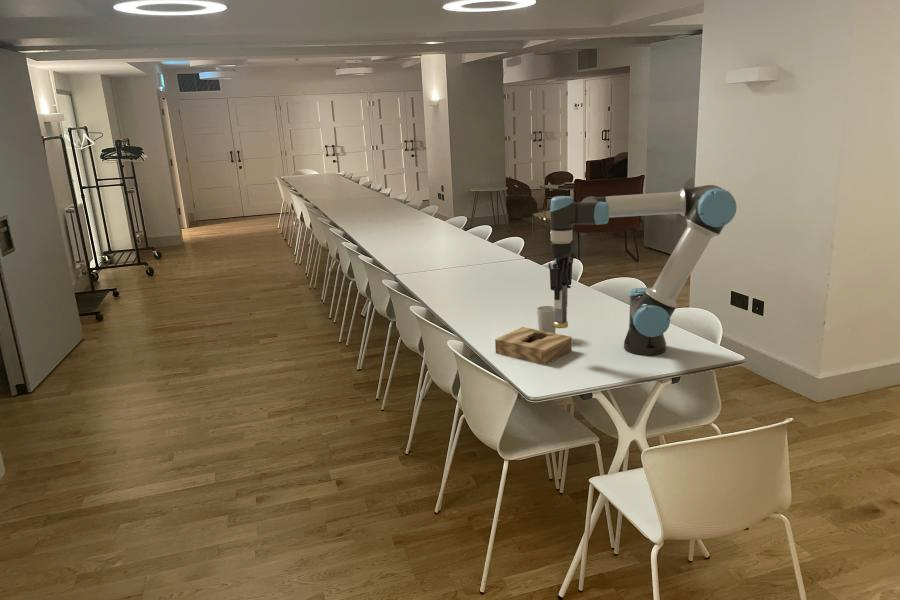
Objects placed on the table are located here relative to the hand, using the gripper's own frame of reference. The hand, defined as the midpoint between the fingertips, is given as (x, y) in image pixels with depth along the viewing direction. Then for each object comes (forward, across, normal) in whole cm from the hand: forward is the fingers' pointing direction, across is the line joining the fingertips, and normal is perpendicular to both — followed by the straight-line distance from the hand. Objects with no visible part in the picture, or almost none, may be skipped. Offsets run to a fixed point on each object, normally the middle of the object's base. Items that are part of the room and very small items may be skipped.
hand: (560, 307), depth 234 cm
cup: (+20, -19, -17) cm, 32 cm away
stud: (+7, 0, 0) cm, 7 cm away
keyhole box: (+20, -2, -12) cm, 23 cm away
